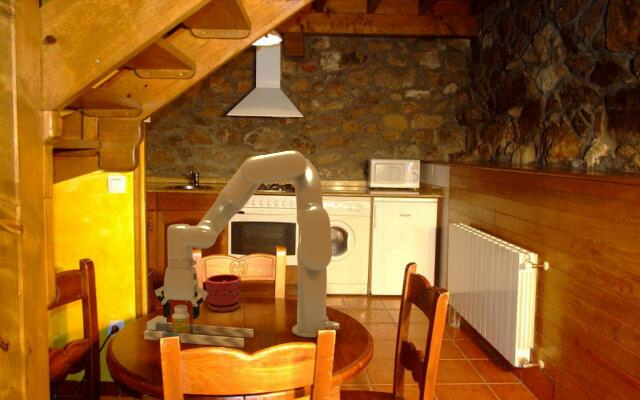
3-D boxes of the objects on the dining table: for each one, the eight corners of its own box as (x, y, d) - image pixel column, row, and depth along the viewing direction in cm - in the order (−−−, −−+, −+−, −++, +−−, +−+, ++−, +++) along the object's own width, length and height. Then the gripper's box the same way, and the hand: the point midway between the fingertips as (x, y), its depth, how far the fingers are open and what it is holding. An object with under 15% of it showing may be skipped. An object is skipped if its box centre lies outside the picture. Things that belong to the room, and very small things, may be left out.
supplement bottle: (175, 340, 159) (175, 309, 158) (169, 335, 164) (169, 305, 163) (192, 337, 162) (192, 307, 161) (186, 332, 166) (186, 303, 166)
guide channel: (253, 336, 163) (253, 321, 163) (242, 347, 154) (242, 331, 153) (160, 329, 169) (160, 314, 169) (144, 339, 160) (144, 323, 159)
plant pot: (206, 304, 200) (206, 274, 199) (240, 303, 202) (240, 273, 202) (205, 314, 187) (205, 281, 186) (241, 313, 190) (241, 280, 189)
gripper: (211, 262, 163) (211, 315, 164) (160, 260, 167) (161, 312, 168) (201, 267, 156) (202, 322, 157) (148, 265, 159) (150, 319, 160)
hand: (181, 317), depth 162 cm, fingers open, 9 cm apart
